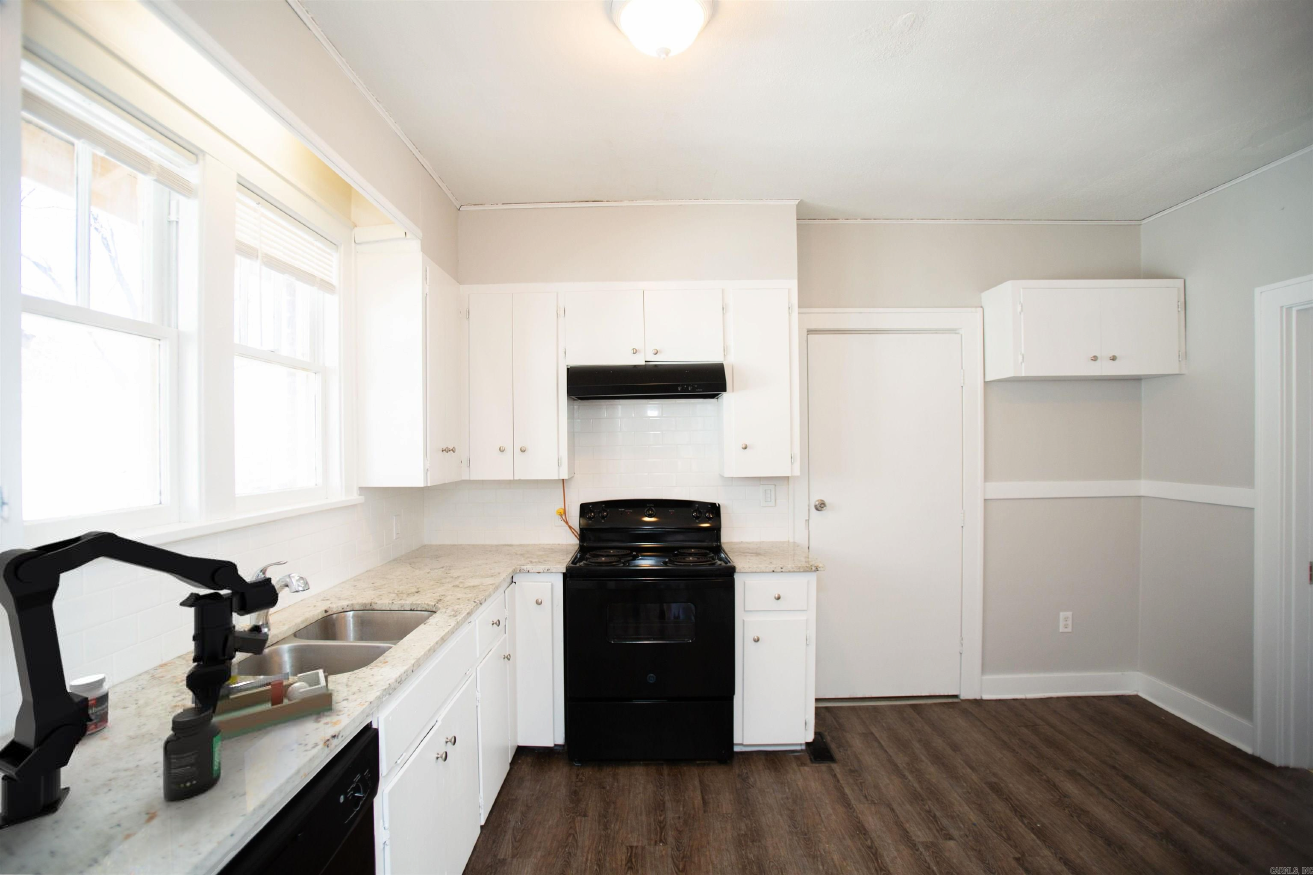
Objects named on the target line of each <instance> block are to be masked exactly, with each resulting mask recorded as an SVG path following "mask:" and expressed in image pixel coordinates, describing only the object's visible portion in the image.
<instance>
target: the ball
mask: <svg viewBox="0 0 1313 875" xmlns="http://www.w3.org/2000/svg"><path fill="white" fill-rule="evenodd" d="M306 688H309V686H308V684H306V683H304V682H298V683H295V684H293V685H292V686H291V687H290V688H289V689H288V691H287V695H286V696H287V699H288V701H289V702H290V701H294V700H298V699H299V690H302V689H306Z"/></svg>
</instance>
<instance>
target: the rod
mask: <svg viewBox="0 0 1313 875" xmlns="http://www.w3.org/2000/svg"><path fill="white" fill-rule="evenodd" d="M287 682H290V672H289V671H286V672H283V673H280V674H279V673H278V674H275V675H270V676H266V677H262V678H257V679H253V680H248V681H244V682H240V683H239V682H238V684H235V685H230V682H227V683H225V684H224V685H223V686H222V687H221V690H220V694H219V699H218V702H220V701H224V700H228V699H230V695H231V696H233V695H237V694H242V693H246V692H250V691H254V690H258V689H262V688H267V687H271V706H275V705H279V704H283V683H287ZM191 705H195V707H198V706H201V705H200V703H199V702H198V700H197V699H196V697H195V696H194V695H193V693H192V694H191Z"/></svg>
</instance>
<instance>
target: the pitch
mask: <svg viewBox="0 0 1313 875" xmlns="http://www.w3.org/2000/svg"><path fill="white" fill-rule="evenodd" d="M323 674H324V678H325V683H326V692H325V693H321V694H317V695H313V696H310V697H306V698H302V699H298V700H294V701H290V702H289V701H288V699H287V696H286V695H287V691H288V689H289V688H290V687H291V686H292V685H293V684H295V683H297V680H292V681H291V680H290V681H288V682H283V704H279V705H275V706H271V686H267V687H262V688H258V689H254V690H250V691H246V692H242V693H237V694H233V695H231V696H230V699H228V700H224V701H220V702H218V703H217V708H216V712H215V713H214V714H213V720H212V721H213V722H216V723H218V724H219V725H220V727H221V741H224V740H227V739H232V738H235V737H238V736H242V735H246V734H248V733H252V732H253V733H254V732H256V731H261V730H264V729H268V728H271V727H274V726H278V725H282V724H285V723H288V722H293V721H296V720H300V719H304V718H307V717H310V716H314V715H317V714H321V713H325V712H329V711H332V710H333V690H329V675H328V672H326V673H323ZM194 707H195V704H191V705H189V706H184V707H183V708H182V711H184V710H187V709H190V708H194Z"/></svg>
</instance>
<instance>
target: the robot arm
mask: <svg viewBox="0 0 1313 875" xmlns="http://www.w3.org/2000/svg"><path fill="white" fill-rule="evenodd" d="M100 558H102V559H103V558H104V559H107V560H111V561H116V562H119V563H124V564H129V565H131V566H135V567H139V568H143V569H148V570H151V571H154V572H155V571H156V572H160V573H163V574H167V575H169V576H171V577H173V578H175V579H176V580H178V581H180V582H181V583H182V582H183V583H184V584H186V585H188V586H190V587H193V588H196V589H203V590H209V591H212V592H208V593H207V592H206V593H203V594H200V593H199V592H190V593H189V595H188V596H187V597H185V598H184V599H183V600H182V601H181V602H179V604H178V605H179V607H182V608H183V607H184V608H190V609H192V608H193V634H192V639H191V640H192V642H193V646H194V647H193V656H192V664H195V665H193V666H192V667H191V668H190V669H189V670H188V672H187V674H186V677H185V688H187V690H188V691H190V692H191V693H192V694H193V695H194V696H195V697H196V699H197V700H198V702H199V703H200V705H201V706H205V705H206V706H212V709H213V714H214V713H215V712H216V708H217V703H218V699H219V694H220V690H221V687H222V686H223V685H224V684H225V683H226V682H227V681H229V680H230V679H231V676H232V660H233V659H234V658H236V656H237V653H241V654H252V655H254V656H261V655H263V654H264V653H263V652H264V650H265V649H266V646H267V644H268V640H269V637H270V634H269V633H268V632H267V631H264V632H263V627H262V624H252V625H251V626H250V627H249V628H247V630H246V629H243V630H236V628H237V627H236V624H234V622H233V621H234V620H233V619H234V617H233V616H234V614H236V615H237V616H239V617H245V616H249V615H252V614H256V613H260V612H263V611H266V610H271V609H273V608H275V607H276V606H277V604H278V601H279V592H278V591H277V588H276V586H275V584H274V583H273V582H272V577H270V576H262V577H258V578H257V579H253V580H249V581H247V580H246V579H245V578H244V577H243V576H242V575H241V574H240V573H239V568H238V565H237V563H235V562H233V561H231V560H226V559H225V560H224V559H217V558H215V559H214V558H209V557H199V556H198V557H197V556H191V555H185V554H183V553H179V552H176V551H172V550H168V549H165V548H162V547H158V546H155V545H151V544H148V543H144V542H140V541H136V540H133V539H129V538H126V537H124V536H123V537H122V536H119V535H117V534H116V533H114V532H112V531H111V532H110V531H101V530H100V531H99V530H94V531H93V530H92V531H88V532H86V533H84V534H80V535H78V536H73V537H69V538H66V539H62V540H59V541H55V542H51V543H47V544H42V545H39V546H36V547H31V548H30V549H28V548H27V549H26V548H12V549H8V550H4V551H1V552H0V605H1V606H2V607H3V609H4V610H5V612H6V614H7V621H8V625H9V629H10V630H9V632H10V636H11V642H12V648H13V653H14V659H15V665H16V670H17V676H18V680H19V682H18V683H19V687H20V691H21V697H22V698H21V703H20V704H21V705H20V706H19V709H18V712H17V714H16V718H15V723H14V725H15V726H14V732H13V735H14V736H13V738H11V740H9V741H8V742H7V743H6V744H5V745H4V746H3V747H2V748H1V749H0V773H1V774H3V775H2V776H1V779H0V780H1V781H0V782H1V784H0V786H1V788H0V789H1V792H0V793H1V795H0V796H1V797H0V798H1V799H0V801H1V802H0V808H1V809H0V829H1V828H4V826H5V827H7V826H6V825H8V826H11V824H12V825H14V824H18V823H22V822H25V821H28V820H32V819H35V818H38V817H42V816H45V815H48V814H52V813H54V812H56V811H57V810H59V808H60V807H61V805H62V804H63V802H64V800H65V798H66V797H67V795H68V793H69V792H70V791H71V790H70V789H71V787H70V786H66V787H62V769H63V768H65V767H66V766H68V764H69V763H70V760H71V757H72V755H73V753H74V751H75V749H76V746H77V745H79V744H80V743H81V742H82V740H83V738H85V737H86V736H87V735H86V734H87V731H88V724H87V722H93V719H92V718H91V717H90V715H89V712H88V708H89V700H88V697H86V696H82V695H79V694H76V693H73V692H71V691H68V688H67V683H66V679H65V678H66V677H65V672H64V665H63V661H62V660H63V659H62V653H61V648H60V643H59V637H58V630H57V624H56V617H55V614H54V613H55V611H54V601H55V598H56V595H57V593H58V590H59V588H60V581H61V575H62V574H65V573H67V572H70V571H73V570H76V569H78V568H80V567H82V566H85V565H86V564H88V563H90V562H92V561H94V560H97V559H100ZM220 591H229V592H226V593H221V592H220Z"/></svg>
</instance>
